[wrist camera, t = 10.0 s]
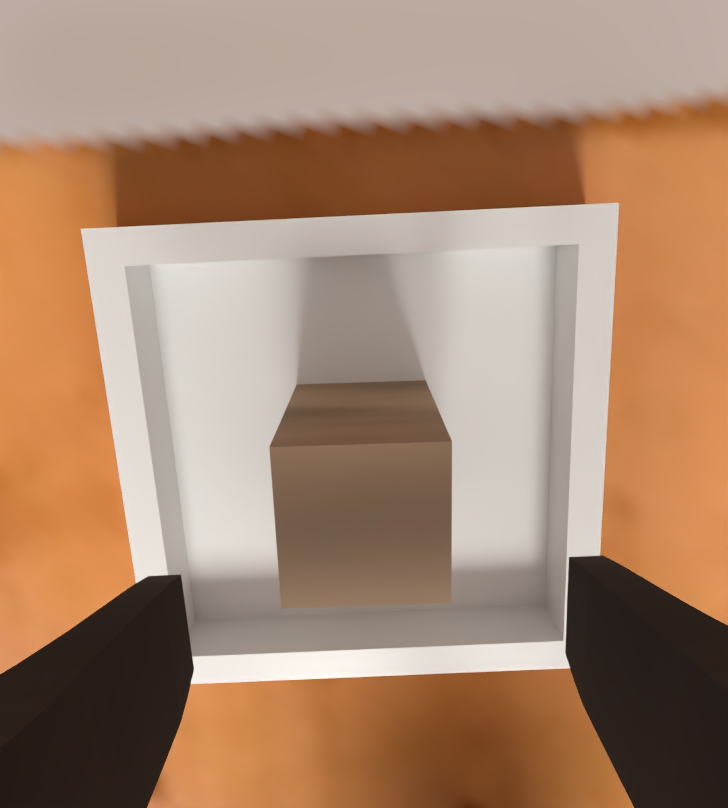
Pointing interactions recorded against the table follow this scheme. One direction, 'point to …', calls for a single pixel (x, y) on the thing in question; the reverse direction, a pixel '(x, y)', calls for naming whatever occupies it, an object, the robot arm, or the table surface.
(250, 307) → the white tray
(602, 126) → the table surface
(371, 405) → the brown rectangular block
